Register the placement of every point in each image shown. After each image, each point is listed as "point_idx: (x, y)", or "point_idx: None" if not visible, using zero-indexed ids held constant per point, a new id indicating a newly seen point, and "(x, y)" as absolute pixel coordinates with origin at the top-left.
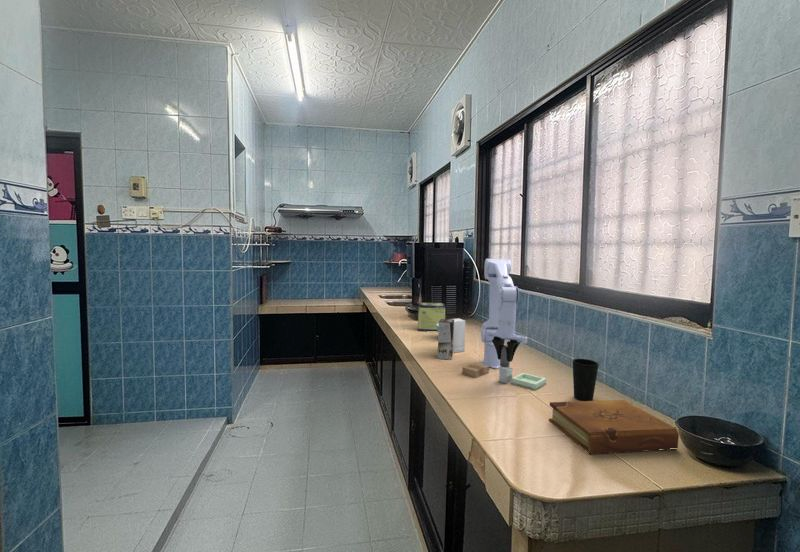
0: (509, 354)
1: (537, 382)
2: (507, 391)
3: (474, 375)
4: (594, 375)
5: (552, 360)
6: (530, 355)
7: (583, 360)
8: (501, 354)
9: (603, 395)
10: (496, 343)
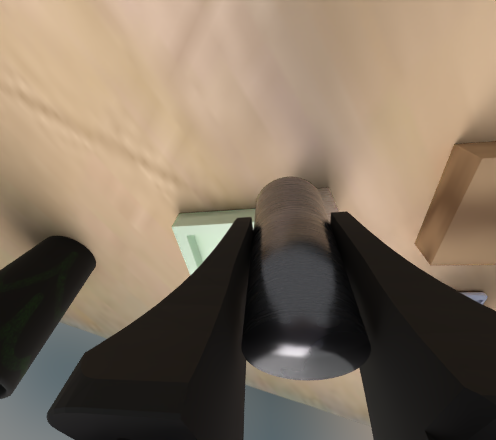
0: (219, 253)
1: (185, 247)
2: (232, 107)
3: (471, 148)
4: None
5: (298, 398)
6: (357, 402)
7: (4, 389)
8: (316, 237)
9: (74, 299)
10: (458, 339)
